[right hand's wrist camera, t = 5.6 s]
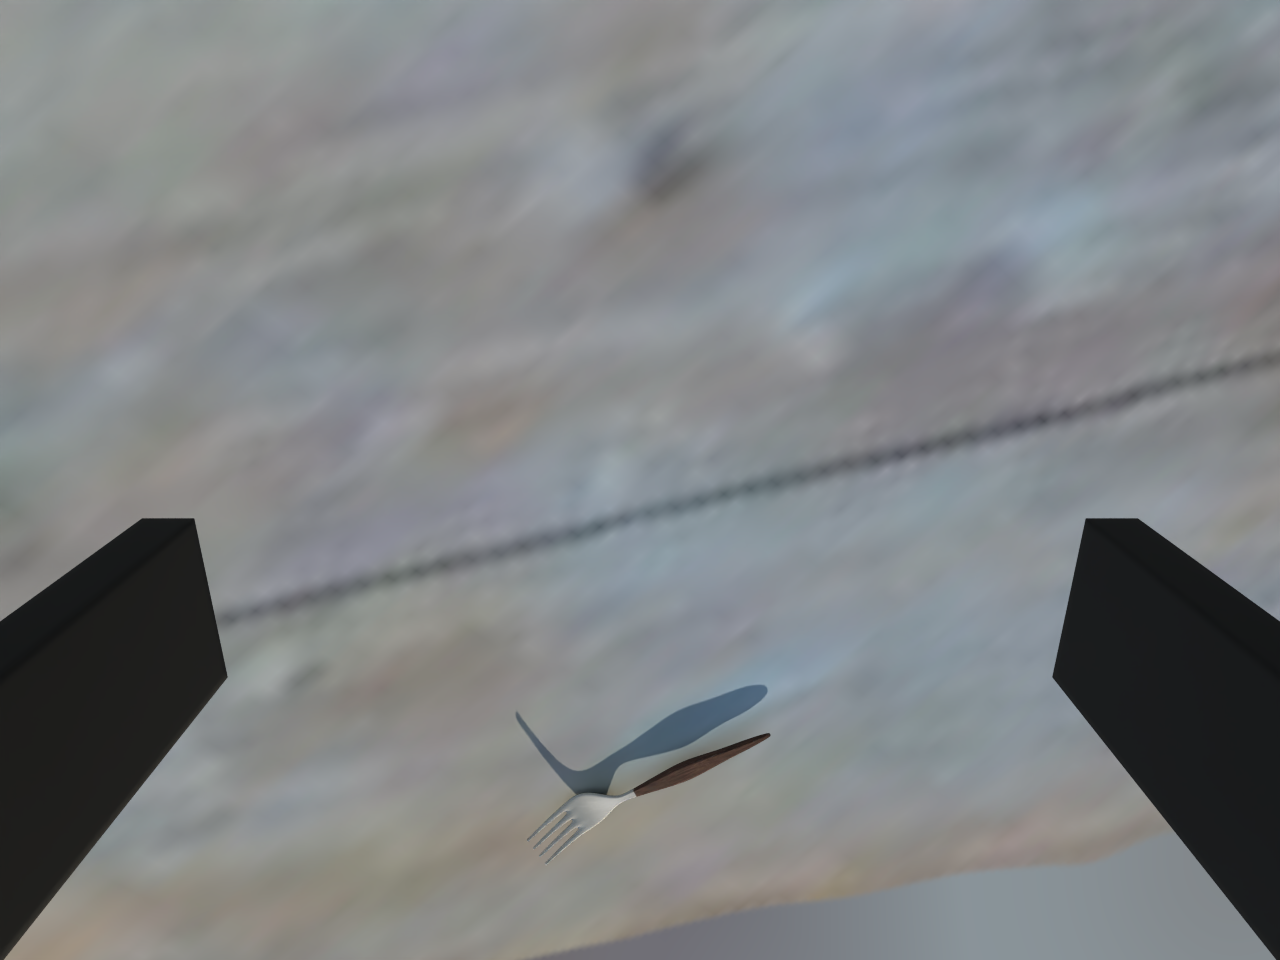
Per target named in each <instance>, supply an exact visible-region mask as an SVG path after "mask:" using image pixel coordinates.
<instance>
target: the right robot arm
mask: <svg viewBox="0 0 1280 960" xmlns="http://www.w3.org/2000/svg"><path fill="white" fill-rule="evenodd" d="M226 679H227V672H226V667H225V662H224V658H223V653H222V648H221V643H220V639H219V634H218V629H217V624H216V620H215V615H214V610H213V605H212V601H211V596H210V591H209V586H208V582H207V577H206V572H205V567H204V563H203V558H202V553H201V548H200V544H199V539H198V534H197V529H196V525H195V520H194V518H142V519H141V520H139V521H138V522H137V523H135V524H134V525H133V526H131V527H130V528H128V529H127V530H126V531H124V532H123V533H121V534H120V535H119V536H117V537H116V538H115V539H113V540H112V541H110V542H109V543H108V544H106V545H105V546H104V547H102V548H101V549H99V550H98V551H97V552H95V553H94V554H93V555H91V556H90V557H88V558H87V559H86V560H84V561H83V562H82V563H80V564H79V565H77V566H76V567H75V568H73V569H72V570H71V571H69V572H68V573H66V574H65V575H64V576H62V577H61V578H60V579H58V580H57V581H55V582H54V583H53V584H51V585H50V586H48V587H47V588H46V589H44V590H43V591H42V592H40V593H39V594H37V595H36V596H35V597H33V598H32V599H31V600H29V601H28V602H26V603H25V604H24V605H22V606H21V607H20V608H18V609H17V610H15V611H14V612H13V613H11V614H10V615H9V616H7V617H6V618H4V619H3V620H2V621H0V960H4V959H5V957H6V956H7V955H8V954H9V952H10V951H11V950H12V949H13V947H14V946H15V945H16V943H17V942H18V941H19V940H20V938H21V937H22V936H23V935H24V933H25V932H26V931H27V930H28V928H29V927H30V926H31V925H32V923H33V922H34V921H35V919H36V918H37V917H38V916H39V914H40V913H41V912H42V911H43V909H44V908H45V907H46V906H47V904H48V903H49V902H50V901H51V899H52V898H53V897H54V896H55V894H56V893H57V892H58V890H59V889H60V888H61V887H62V885H63V884H64V883H65V882H66V880H67V879H68V878H69V877H70V875H71V874H72V873H73V872H74V870H75V869H76V868H77V867H78V865H79V864H80V863H81V861H82V860H83V859H84V858H85V856H86V855H87V854H88V853H89V851H90V850H91V849H92V848H93V846H94V845H95V844H96V843H97V841H98V840H99V839H100V838H101V836H102V835H103V834H104V832H105V831H106V830H107V829H108V827H109V826H110V825H111V824H112V822H113V821H114V820H115V819H116V817H117V816H118V815H119V814H120V812H121V811H122V810H123V808H124V807H125V806H126V805H127V803H128V802H129V801H130V800H131V798H132V797H133V796H134V795H135V793H136V792H137V791H138V790H139V788H140V787H141V786H142V785H143V783H144V782H145V781H146V779H147V778H148V777H149V776H150V774H151V773H152V772H153V771H154V769H155V768H156V767H157V766H158V764H159V763H160V762H161V761H162V759H163V758H164V757H165V756H166V754H167V753H168V752H169V750H170V749H171V748H172V747H173V745H174V744H175V743H176V742H177V740H178V739H179V738H180V737H181V735H182V734H183V733H184V732H185V730H186V729H187V728H188V727H189V725H190V724H191V723H192V721H193V720H194V719H195V718H196V716H197V715H198V714H199V713H200V711H201V710H202V709H203V708H204V706H205V705H206V704H207V703H208V701H209V700H210V699H211V697H212V696H213V695H214V694H215V692H216V691H217V690H218V689H219V687H220V686H221V685H222V684H223V682H224V681H225V680H226ZM1053 679H1054V680H1055V681H1056V682H1057V684H1058V685H1059V686H1060V687H1061V689H1062V690H1063V691H1064V692H1065V694H1066V695H1067V696H1068V697H1069V699H1070V700H1071V701H1072V703H1073V704H1074V705H1075V706H1076V708H1077V709H1078V710H1079V711H1080V713H1081V714H1082V715H1083V716H1084V718H1085V719H1086V720H1087V721H1088V723H1089V724H1090V725H1091V727H1092V728H1093V729H1094V730H1095V732H1096V733H1097V734H1098V735H1099V737H1100V738H1101V739H1102V740H1103V742H1104V743H1105V744H1106V745H1107V747H1108V748H1109V749H1110V750H1111V752H1112V753H1113V754H1114V756H1115V757H1116V758H1117V759H1118V761H1119V762H1120V763H1121V764H1122V766H1123V767H1124V768H1125V769H1126V771H1127V772H1128V773H1129V774H1130V776H1131V777H1132V778H1133V779H1134V781H1135V782H1136V783H1137V785H1138V786H1139V787H1140V788H1141V790H1142V791H1143V792H1144V793H1145V795H1146V796H1147V797H1148V798H1149V800H1150V801H1151V802H1152V803H1153V805H1154V806H1155V807H1156V808H1157V810H1158V811H1159V812H1160V814H1161V815H1162V816H1163V817H1164V819H1165V820H1166V821H1167V822H1168V824H1169V825H1170V826H1171V827H1172V829H1173V830H1174V831H1175V832H1176V834H1177V835H1178V836H1179V837H1180V839H1181V840H1182V841H1183V843H1184V844H1185V845H1186V846H1187V848H1188V849H1189V850H1190V851H1191V853H1192V854H1193V855H1194V856H1195V858H1196V859H1197V860H1198V861H1199V863H1200V864H1201V865H1202V867H1203V868H1204V869H1205V870H1206V872H1207V873H1208V874H1209V875H1210V877H1211V878H1212V879H1213V880H1214V882H1215V883H1216V884H1217V885H1218V887H1219V888H1220V889H1221V890H1222V892H1223V893H1224V894H1225V895H1226V897H1227V898H1228V899H1229V901H1230V902H1231V903H1232V904H1233V905H1234V907H1235V908H1236V909H1237V911H1238V912H1239V913H1240V914H1241V916H1242V917H1243V918H1244V920H1245V921H1246V922H1247V923H1248V924H1249V926H1250V927H1251V928H1252V930H1253V931H1254V932H1255V933H1256V935H1257V936H1258V937H1259V938H1260V940H1261V941H1262V942H1263V943H1264V945H1265V946H1266V947H1267V948H1268V950H1269V951H1270V952H1271V954H1272V955H1273V956H1274V957H1275V959H1276V960H1280V621H1278V620H1277V619H1276V618H1274V617H1273V616H1271V615H1270V614H1269V613H1267V612H1266V611H1265V610H1263V609H1262V608H1260V607H1259V606H1258V605H1256V604H1255V603H1254V602H1252V601H1251V600H1249V599H1248V598H1247V597H1245V596H1244V595H1243V594H1241V593H1240V592H1238V591H1237V590H1236V589H1234V588H1233V587H1232V586H1230V585H1229V584H1227V583H1226V582H1225V581H1223V580H1222V579H1220V578H1219V577H1218V576H1216V575H1215V574H1214V573H1212V572H1211V571H1209V570H1208V569H1207V568H1205V567H1204V566H1203V565H1201V564H1200V563H1198V562H1197V561H1196V560H1194V559H1193V558H1192V557H1190V556H1189V555H1187V554H1186V553H1185V552H1183V551H1182V550H1181V549H1179V548H1178V547H1176V546H1175V545H1174V544H1172V543H1171V542H1170V541H1168V540H1167V539H1165V538H1164V537H1163V536H1161V535H1160V534H1159V533H1157V532H1156V531H1154V530H1153V529H1152V528H1150V527H1149V526H1147V525H1146V524H1145V523H1143V522H1142V521H1141V520H1139V519H1138V518H1086V520H1085V525H1084V529H1083V534H1082V539H1081V544H1080V548H1079V553H1078V558H1077V563H1076V567H1075V572H1074V577H1073V582H1072V586H1071V591H1070V596H1069V601H1068V605H1067V610H1066V615H1065V620H1064V624H1063V629H1062V634H1061V639H1060V643H1059V648H1058V653H1057V658H1056V662H1055V667H1054V672H1053Z"/></svg>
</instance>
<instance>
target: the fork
mask: <svg viewBox="0 0 1280 960" xmlns="http://www.w3.org/2000/svg"><path fill="white" fill-rule="evenodd" d="M770 736H771V735H770V733H767V734H763V735H759V736H756V737H753V738H750V739H747V740H744V741H741V742H738V743H736V744H733V745H730V746H727V747H725V748H722V749H719V750H716V751H713V752H710V753H707V754H703V755H700V756H697V757H694V758H691V759H688V760H686V761H683V762H681V763H679V764H677V765H675V766H673V767H671V768H669V769H667V770H665V771H664V772H662V773H660V774H658V775H657V776H655V777H653V778H651V779H650V780H648V781H646V782H644V783H643V784H641V785H639V786H637V787H636V788H634V789H632V790H630V791H628V792H626V793H624V794H622V795H618V796H610V795H603V794H598V793H581V794H578V795H576V796H574V797H572V798H571V799H569V800H568V801H567V802H566V803H565V804H563V805H562V806H561V807H560V808H559V809H558V810H557V811H556V812H555V813H553V814H552V815H551V816H550V817H549V818H548V819H547V820H546V821H545V822H544V823H543V824H542V825H541V826H540V827H539V828H538V829H537V830H536V831H535V832H534V833H533V834H532V835H531V836H530V837H529V838H528V839H527V841H530V839H531V838H533V837H534V836H535V835H536V834H537V833H538V832H539V831H541V830H542V829H543V828H544V827H545V826H547V825H548V824H549V823H550V822H551V821H553V820H554V819H555V818H556V817H558V816H559V815H560V814H562V813H563V812H567V814H566V815H565V816H564V817H563V818H562V819H561V820H560V821H559V822H558V823H557V824H556V825H555V826H554V827H553V828H552V829H551V830H550V831H549V832H548V833H547V834H546V835H545V836H544V837H543V838H542V839H541V840H540V841H539V842H538V843H537V844H536V845H535V846H534V847H533V849H535V848H536V847H537V846H538V845H540V844H541V843H542V842H543V841H544V840H545V839H546V838H548V837H549V836H550V835H551V834H552V833H554V832H555V831H556V830H557V829H558V828H560V827H561V826H562V825H563V824H565V823H566V822H567V821H569V820H573V821H572V823H571V824H570V825H569V826H568V827H567V828H566V829H565V830H564V831H563V832H562V833H561V834H560V835H559V836H558V837H557V838H556V839H555V840H554V841H553V842H552V843H551V844H550V845H549V846H548V847H547V848H546V849H545V850H544V851H543V852H542V853H541V854H540V855H539V857H541V856H542V855H543V854H544V853H545V852H547V851H548V850H549V849H550V848H551V847H552V846H553V845H555V844H556V843H557V842H558V841H559V840H560V839H562V838H563V837H564V836H565V835H566V834H568V833H569V832H570V831H572V830H573V829H574V828H577V827H578V830H577V831H576V833H575V834H574V835H573V836H571V837H570V838H569V839H568V840H567V841H566V842H565V843H564V844H563V845H562V846H561V847H560V848H559V849H558V850H557V851H556V852H555V853H554V854H553V855H552V856H551V857H550V859H549V860H548V861H547V862H546V863H545V864H546V865H547V864H548V863H549V862H550V861H551V860H552V859H553V858H554V857H556V856H557V855H558V854H559V853H560V852H561V851H562V850H564V849H565V848H566V847H567V846H568V845H570V844H571V843H572V842H573V841H574V840H576V839H577V838H578V837H579V836H581V835H582V834H584V833H585V832H586V831H588V830H589V829H591V828H592V827H594V826H595V825H597V824H598V823H600V822H601V821H602V820H603V819H604V818H605V817H606V816H607V815H608V814H609V813H610V812H611V811H612V810H613V809H614V808H615V807H616V806H617V805H618V804H620V803H621V802H623V801H626V800H628V799H631V798H634V797H637V796H640V795H644V794H647V793H650V792H654V791H657V790H660V789H664V788H667V787H670V786H673V785H676V784H679V783H682V782H685V781H687V780H690V779H692V778H694V777H696V776H698V775H700V774H702V773H704V772H706V771H708V770H709V769H711V768H713V767H715V766H717V765H718V764H720V763H722V762H724V761H726V760H728V759H730V758H732V757H734V756H736V755H738V754H739V753H741V752H743V751H745V750H747V749H749V748H751V747H753V746H755V745H757V744H758V743H760V742H762V741H764V740H765V739H767V738H768V737H770Z"/></svg>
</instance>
